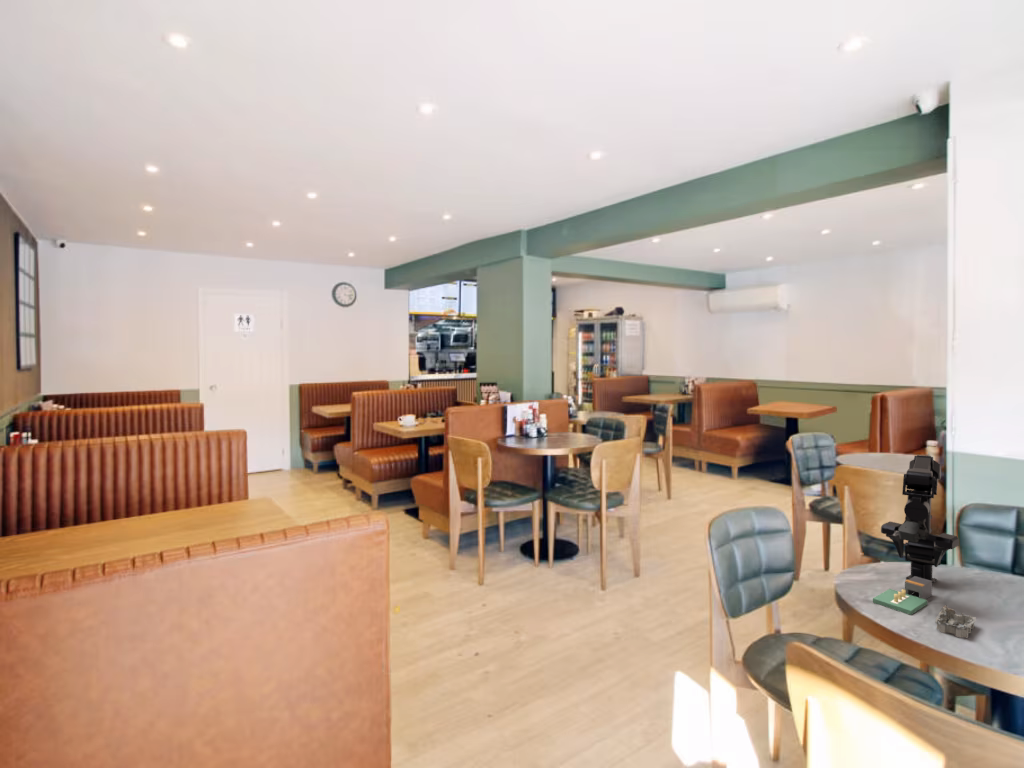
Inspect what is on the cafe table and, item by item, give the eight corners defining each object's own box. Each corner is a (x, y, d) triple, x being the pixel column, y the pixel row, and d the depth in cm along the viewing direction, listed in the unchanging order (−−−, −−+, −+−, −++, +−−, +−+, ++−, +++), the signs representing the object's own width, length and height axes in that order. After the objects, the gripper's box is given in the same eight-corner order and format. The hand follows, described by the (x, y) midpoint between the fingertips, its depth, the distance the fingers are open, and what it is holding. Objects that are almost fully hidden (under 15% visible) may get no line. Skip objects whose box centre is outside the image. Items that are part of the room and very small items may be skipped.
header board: (889, 592, 173) (889, 581, 173) (927, 604, 165) (927, 593, 165) (872, 602, 167) (872, 591, 167) (910, 614, 159) (911, 603, 159)
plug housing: (914, 590, 174) (914, 575, 174) (931, 595, 171) (932, 579, 170) (904, 596, 171) (904, 580, 170) (922, 601, 167) (922, 585, 166)
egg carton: (944, 618, 157) (944, 603, 157) (978, 628, 151) (978, 613, 151) (931, 630, 151) (932, 615, 150) (966, 641, 145) (966, 625, 144)
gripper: (872, 510, 172) (872, 559, 173) (944, 525, 157) (943, 579, 158) (889, 503, 178) (889, 550, 179) (960, 517, 163) (959, 569, 164)
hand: (918, 562), depth 170 cm, fingers open, 9 cm apart
